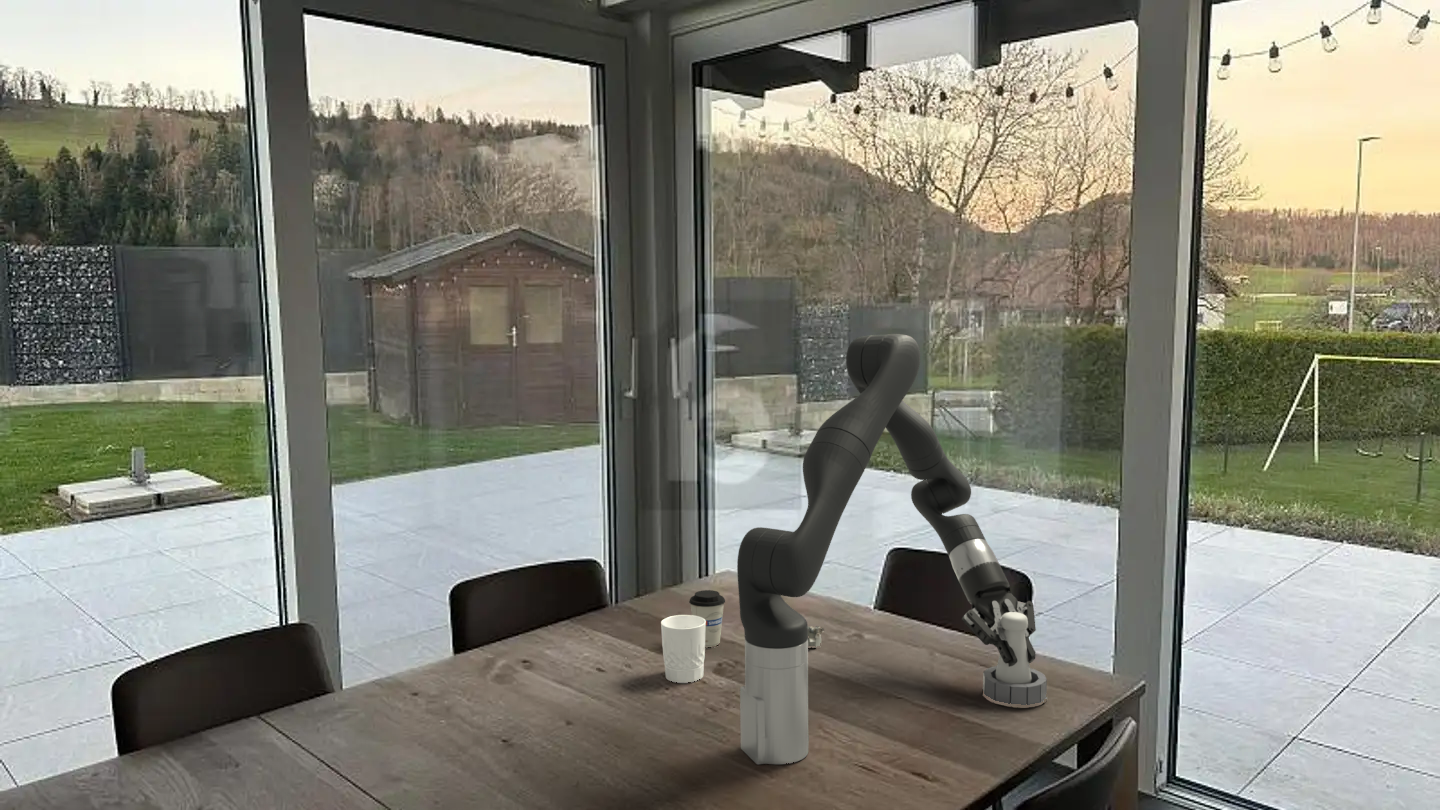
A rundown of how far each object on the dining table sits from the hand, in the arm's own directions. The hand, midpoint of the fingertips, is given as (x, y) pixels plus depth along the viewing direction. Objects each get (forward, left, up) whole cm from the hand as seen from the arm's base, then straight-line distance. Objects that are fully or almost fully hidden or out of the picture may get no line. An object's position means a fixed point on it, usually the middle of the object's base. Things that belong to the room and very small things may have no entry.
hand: (1022, 662), depth 171 cm
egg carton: (-21, +41, -7) cm, 46 cm away
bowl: (0, +2, -6) cm, 7 cm away
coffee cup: (-37, +47, -7) cm, 60 cm away
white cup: (-47, +33, -7) cm, 58 cm away
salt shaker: (0, +2, -6) cm, 6 cm away
